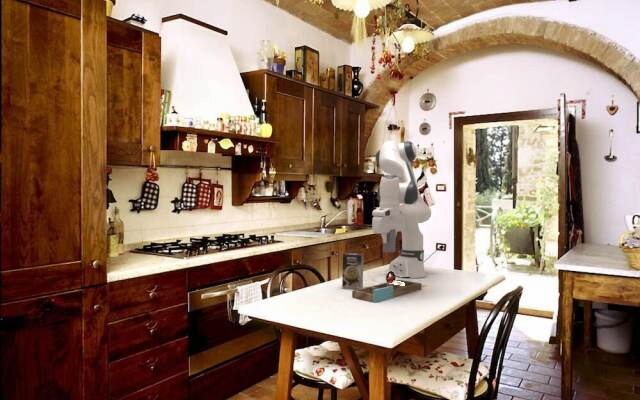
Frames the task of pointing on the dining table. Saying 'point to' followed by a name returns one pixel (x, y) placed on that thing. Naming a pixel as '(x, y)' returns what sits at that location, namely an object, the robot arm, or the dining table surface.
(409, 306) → the dining table surface
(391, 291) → the rack
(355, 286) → the coffee box
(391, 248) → the tall grey block
